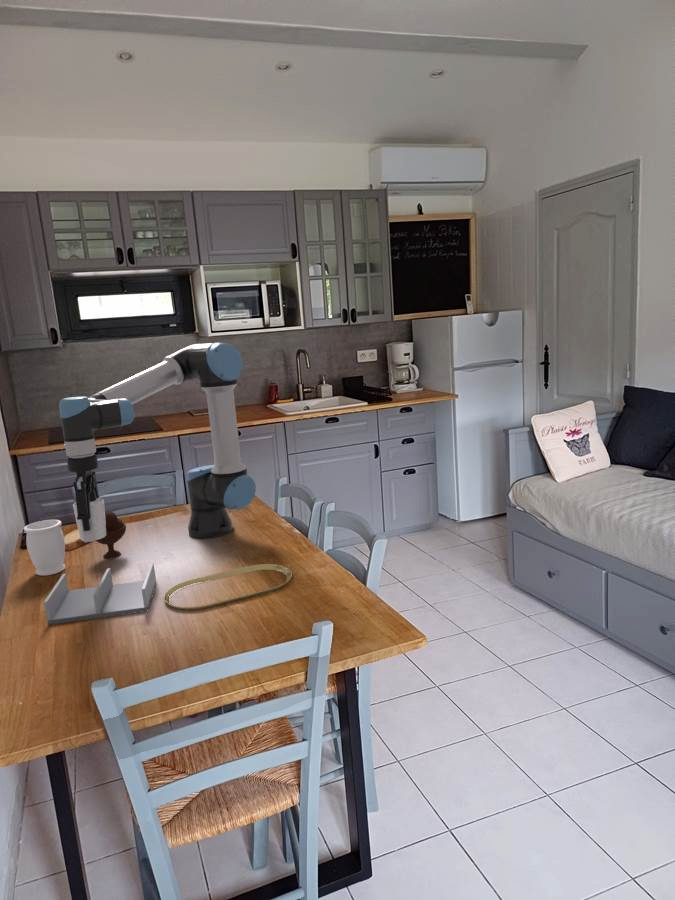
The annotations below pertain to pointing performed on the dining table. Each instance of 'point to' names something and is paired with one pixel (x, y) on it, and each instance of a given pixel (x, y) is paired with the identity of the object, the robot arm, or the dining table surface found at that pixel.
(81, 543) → the slice of bread
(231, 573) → the brass oval ring
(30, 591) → the dining table surface
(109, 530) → the ice cream bowl
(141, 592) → the dish rack
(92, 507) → the white cup
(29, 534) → the jar
